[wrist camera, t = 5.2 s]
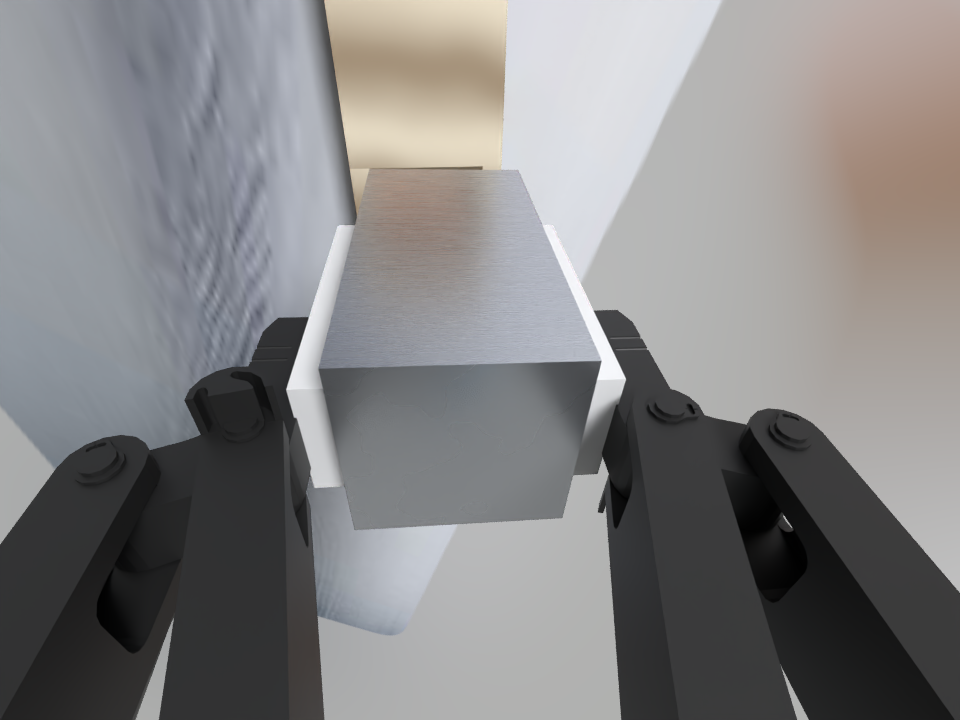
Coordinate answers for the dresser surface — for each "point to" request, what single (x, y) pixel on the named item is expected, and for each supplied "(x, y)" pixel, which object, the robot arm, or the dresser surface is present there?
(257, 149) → the dresser surface
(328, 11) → the rail
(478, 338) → the post
